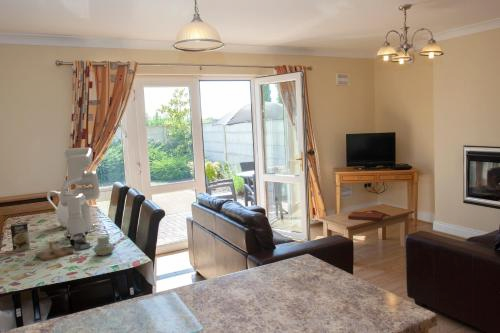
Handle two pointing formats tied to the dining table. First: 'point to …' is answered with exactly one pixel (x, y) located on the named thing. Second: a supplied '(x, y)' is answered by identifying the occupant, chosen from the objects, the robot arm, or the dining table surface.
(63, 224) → the pitcher
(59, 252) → the board
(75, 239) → the open ended gray sleeve
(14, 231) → the coffee box
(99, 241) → the air freshener
